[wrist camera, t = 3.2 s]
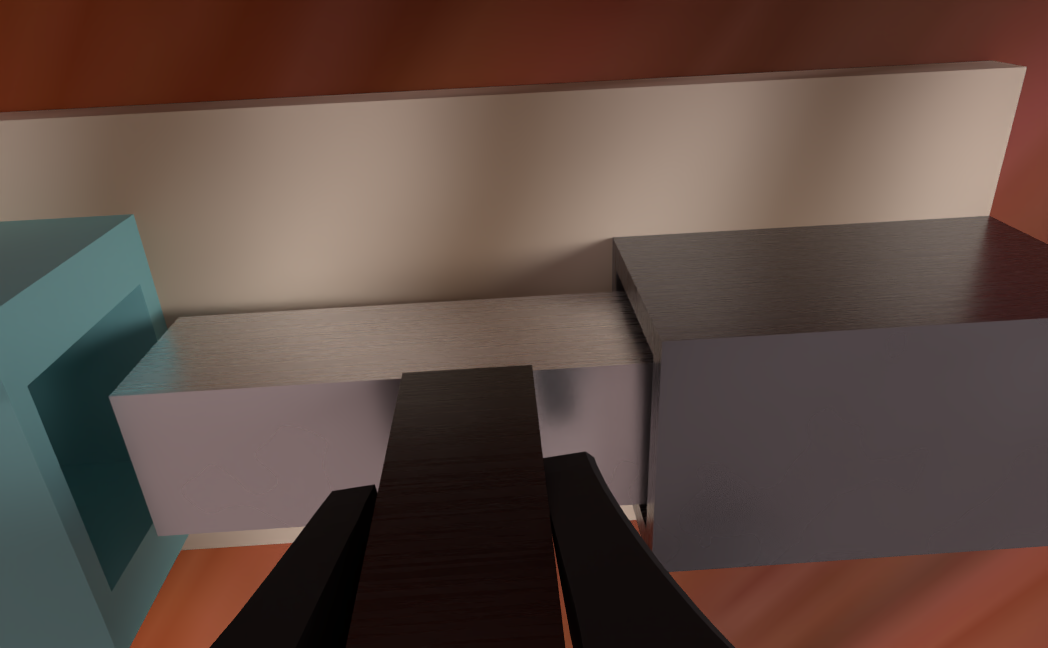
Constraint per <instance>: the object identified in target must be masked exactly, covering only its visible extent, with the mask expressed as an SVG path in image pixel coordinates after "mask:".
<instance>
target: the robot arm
mask: <svg viewBox="0 0 1048 648" xmlns="http://www.w3.org/2000/svg"><path fill="white" fill-rule="evenodd" d="M543 462H544V471H545V479H546V488H547V496H548V505H549V513H550V522H551V530H552V536H553V542H554V547H555V553H556V558H557V564H558V569H559V575H560V581H561V586H562V592H563V597H564V603H565V608H566V614H567V619H568V625H569V630H570V636H571V640H572V645H573V648H735V647H734V646H733V645H732V644H731V643H730V642H729V641H728V640H727V639H726V638H725V637H724V636H723V635H722V634H721V633H720V631H719V630H718V629H717V628H716V627H715V626H714V625H713V624H712V623H711V622H710V621H709V619H708V618H707V617H706V616H705V615H704V614H703V613H702V612H701V611H700V609H699V608H698V607H697V606H696V605H695V604H694V603H693V601H692V600H691V599H690V598H689V597H688V595H687V594H686V593H685V592H684V591H683V590H682V588H681V587H680V586H679V585H678V584H677V583H676V581H675V580H674V579H673V578H672V576H671V575H670V574H669V573H668V571H667V570H666V569H665V568H664V566H663V565H662V564H661V563H660V561H659V560H658V559H657V557H656V556H655V555H654V553H653V552H652V551H651V549H650V548H649V547H648V545H647V544H646V543H645V541H644V540H643V539H642V537H641V536H640V535H639V533H638V532H637V531H636V529H635V528H634V526H633V525H632V523H631V522H630V520H629V519H628V518H627V516H626V515H625V513H624V512H623V510H622V508H621V507H620V505H619V504H618V502H617V500H616V499H615V497H614V496H613V494H612V492H611V491H610V489H609V487H608V485H607V484H606V482H605V480H604V478H603V476H602V474H601V472H600V470H599V468H598V466H597V463H596V461H595V458H594V457H593V456H592V455H590V454H589V453H587V452H586V451H584V452H578V453H572V454H565V455H559V456H552V457H546V458H543ZM376 498H377V489H376V486H375V484H374V485H367V486H361V487H354V488H348V489H342V490H335V491H332V492H331V493H330V494H329V496H328V497H327V498H326V500H325V501H324V502H323V503H322V505H321V506H320V507H319V509H318V510H317V511H316V513H315V514H314V515H313V516H312V518H311V519H310V520H309V522H308V523H307V524H306V526H305V527H304V528H303V530H302V531H301V533H300V534H299V535H298V537H297V538H296V539H295V541H294V542H293V543H292V545H291V546H290V547H289V549H288V550H287V551H286V553H285V554H284V555H283V557H282V558H281V559H280V561H279V562H278V563H277V565H276V566H275V567H274V569H273V570H272V571H271V572H270V574H269V575H268V576H267V578H266V579H265V580H264V581H263V583H262V584H261V585H260V587H259V588H258V589H257V590H256V592H255V593H254V594H253V595H252V597H251V598H250V599H249V601H248V602H247V603H246V604H245V606H244V607H243V608H242V610H241V611H240V612H239V613H238V615H237V616H236V617H235V618H234V619H233V621H232V622H231V623H230V624H229V625H228V627H227V628H226V629H225V630H224V631H223V632H222V634H221V635H220V636H219V637H218V638H217V640H216V641H215V642H214V643H213V644H212V645H211V647H210V648H346V643H347V638H348V633H349V629H350V624H351V619H352V614H353V609H354V604H355V600H356V595H357V590H358V585H359V580H360V575H361V571H362V566H363V561H364V556H365V551H366V546H367V542H368V537H369V532H370V527H371V522H372V517H373V513H374V508H375V503H376Z"/></svg>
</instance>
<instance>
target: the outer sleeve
mask: <svg viewBox="0 0 1048 648" xmlns="http://www.w3.org/2000/svg"><path fill="white" fill-rule="evenodd" d="M613 291H626V294H627V296H628V298H629V301H630V303H631V305H632V308H633V310H634V312H635V314H636V317H637V319H638V321H639V324H640V326H641V328H642V331H643V333H644V335H645V337H646V340H647V342H648V344H649V347H650V349H651V351H652V354H653V378H652V402H651V425H650V449H649V473H648V497H647V504H637V505H633V509H634V512H635V516H636V520H637V523H638V527H639V531H640V534H641V537H642V539H643V540H644V541H645V543H646V544H647V545H648V547H649V548H650V549H651V551H652V552H653V553H654V555H655V556H656V557H657V559H658V560H659V561H660V563H661V564H662V565H663V566H664V568H665V569H666V570H667V571H668V572H674V571H689V570H704V569H718V568H733V567H747V566H762V565H776V564H791V563H805V562H820V561H835V560H849V559H864V558H878V557H893V556H907V555H922V554H937V553H951V552H966V551H980V550H995V549H1009V548H1024V547H1039V546H1048V244H1046V243H1044V242H1042V241H1040V240H1038V239H1036V238H1034V237H1032V236H1030V235H1027V234H1025V233H1023V232H1021V231H1019V230H1017V229H1015V228H1013V227H1011V226H1009V225H1007V224H1005V223H1003V222H1001V221H999V220H997V219H995V218H993V217H991V216H976V217H959V218H941V219H924V220H906V221H889V222H872V223H854V224H837V225H819V226H802V227H785V228H767V229H750V230H732V231H715V232H698V233H680V234H663V235H645V236H628V237H613V250H612V292H613Z"/></svg>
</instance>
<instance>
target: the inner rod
mask: <svg viewBox="0 0 1048 648" xmlns="http://www.w3.org/2000/svg"><path fill="white" fill-rule="evenodd" d="M652 378H653V354H652V351H651V349H650V347H649V344H648V342H647V340H646V337H645V335H644V333H643V331H642V328H641V326H640V324H639V321H638V319H637V317H636V314H635V312H634V310H633V308H632V305H631V303H630V301H629V298H628V296H627V294H626V291H613V292H596V293H579V294H563V295H546V296H529V297H512V298H495V299H478V300H461V301H445V302H428V303H411V304H394V305H377V306H360V307H343V308H326V309H310V310H293V311H276V312H259V313H242V314H225V315H208V316H192V317H179V318H178V319H177V320H176V321H175V322H174V323H173V324H172V326H171V327H170V328H169V329H168V330H167V331H166V332H165V333H164V335H163V336H162V337H161V338H160V339H159V340H158V341H157V342H156V344H155V345H154V346H153V347H152V348H151V349H150V350H149V352H148V353H147V354H146V355H145V356H144V357H143V358H142V359H141V361H140V362H139V363H138V364H137V365H136V366H135V367H134V368H133V370H132V371H131V372H130V373H129V374H128V375H127V376H126V378H125V379H124V380H123V381H122V382H121V383H120V384H119V385H118V387H117V388H116V389H115V390H114V391H113V392H112V393H111V394H110V396H109V399H110V402H111V405H112V407H113V410H114V413H115V416H116V419H117V422H118V424H119V427H120V430H121V433H122V436H123V439H124V441H125V444H126V447H127V450H128V453H129V456H130V458H131V461H132V464H133V467H134V470H135V473H136V475H137V478H138V481H139V484H140V487H141V489H142V492H143V495H144V498H145V501H146V504H147V506H148V509H149V512H150V515H151V518H152V521H153V523H154V526H155V529H156V532H157V535H158V536H169V535H185V534H200V533H215V532H230V531H245V530H260V529H275V528H290V527H305V526H306V524H307V523H308V522H309V520H310V519H311V518H312V516H313V515H314V514H315V513H316V511H317V510H318V509H319V507H320V506H321V505H322V503H323V502H324V501H325V500H326V498H327V497H328V496H329V494H330V493H331V492H332V491H335V490H342V489H348V488H354V487H361V486H367V485H374V484H375V486H376V489H377V498H376V503H375V508H374V513H373V517H372V522H371V527H370V532H369V537H368V542H367V546H366V551H365V556H364V561H363V566H362V571H361V575H360V580H359V585H358V590H357V595H356V600H355V604H354V609H353V614H352V619H351V624H350V629H349V633H348V638H347V643H346V648H565V641H564V633H563V624H562V615H561V607H560V598H559V590H558V581H557V573H556V564H555V556H554V547H553V539H552V530H551V522H550V513H549V505H548V496H547V488H546V479H545V471H544V462H543V458H546V457H552V456H559V455H565V454H572V453H578V452H584V451H586V452H587V453H589V454H590V455H592V456H593V457H594V458H595V461H596V463H597V466H598V468H599V470H600V472H601V474H602V476H603V478H604V480H605V482H606V484H607V485H608V487H609V489H610V491H611V492H612V494H613V496H614V497H615V499H616V500H617V502H618V504H619V505H620V506H622V505H637V504H647V497H648V473H649V449H650V425H651V402H652Z"/></svg>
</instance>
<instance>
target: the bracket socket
mask: <svg viewBox="0 0 1048 648" xmlns="http://www.w3.org/2000/svg"><path fill="white" fill-rule="evenodd" d="M167 330H168V329H167V326H166V322H165V319H164V315H163V312H162V309H161V305H160V302H159V299H158V295H157V292H156V288H155V285H154V282H153V278H152V275H151V272H150V268H149V265H148V261H147V258H146V255H145V251H144V248H143V244H142V241H141V238H140V234H139V231H138V228H137V224H136V221H135V217H134V214H127V215H109V216H91V217H74V218H56V219H38V220H20V221H2V222H0V648H129V647H130V646H131V644H132V642H133V640H134V638H135V636H136V634H137V632H138V630H139V628H140V627H141V625H142V623H143V621H144V619H145V617H146V615H147V613H148V611H149V609H150V608H151V606H152V604H153V602H154V600H155V598H156V596H157V594H158V592H159V590H160V589H161V587H162V585H163V583H164V581H165V579H166V577H167V575H168V573H169V571H170V570H171V568H172V566H173V564H174V562H175V560H176V558H177V556H178V554H179V552H180V551H181V549H182V547H183V545H184V543H185V541H186V539H187V537H188V535H189V534H185V535H169V536H158V535H157V532H156V529H155V526H154V523H153V521H152V518H151V515H150V512H149V509H148V506H147V504H146V501H145V498H144V495H143V492H142V489H141V487H140V484H139V481H138V478H137V475H136V473H135V470H134V467H133V464H132V461H131V458H130V456H129V453H128V450H127V447H126V444H125V441H124V439H123V436H122V433H121V430H120V427H119V424H118V422H117V419H116V416H115V413H114V410H113V407H112V405H111V402H110V399H109V396H110V394H111V393H112V392H113V391H114V390H115V389H116V388H117V387H118V385H119V384H120V383H121V382H122V381H123V380H124V379H125V378H126V376H127V375H128V374H129V373H130V372H131V371H132V370H133V368H134V367H135V366H136V365H137V364H138V363H139V362H140V361H141V359H142V358H143V357H144V356H145V355H146V354H147V353H148V352H149V350H150V349H151V348H152V347H153V346H154V345H155V344H156V342H157V341H158V340H159V339H160V338H161V337H162V336H163V335H164V333H165V332H166V331H167Z"/></svg>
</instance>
